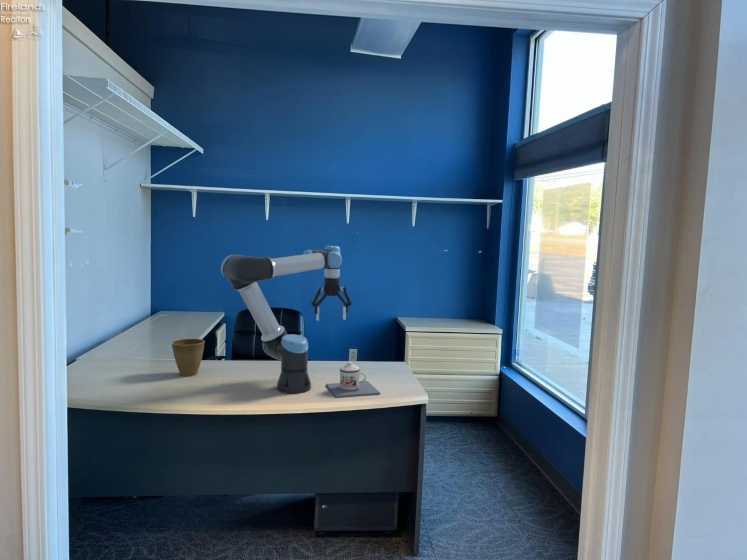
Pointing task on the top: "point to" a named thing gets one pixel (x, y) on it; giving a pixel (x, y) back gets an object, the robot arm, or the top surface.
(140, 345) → the top surface
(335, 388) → the charcoal mat
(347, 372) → the teacup with lid
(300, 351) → the robot arm
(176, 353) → the plant pot
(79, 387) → the top surface
